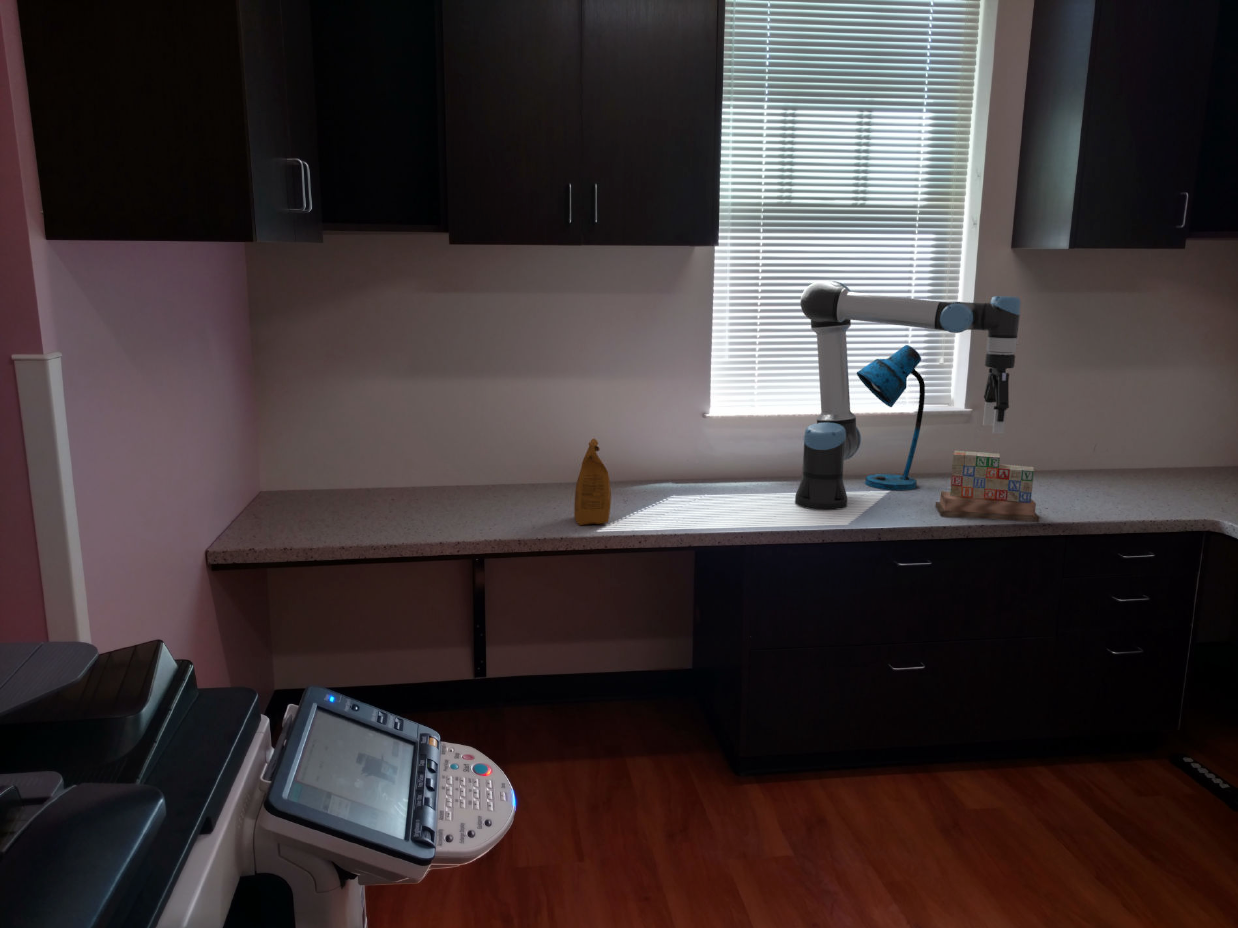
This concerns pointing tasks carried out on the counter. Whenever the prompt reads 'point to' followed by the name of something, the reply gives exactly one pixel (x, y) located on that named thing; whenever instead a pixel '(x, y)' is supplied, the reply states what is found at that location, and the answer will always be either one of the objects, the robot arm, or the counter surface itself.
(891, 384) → the desk lamp
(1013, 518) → the base brick
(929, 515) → the counter surface
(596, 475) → the coffee package
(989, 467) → the stack of blocks
